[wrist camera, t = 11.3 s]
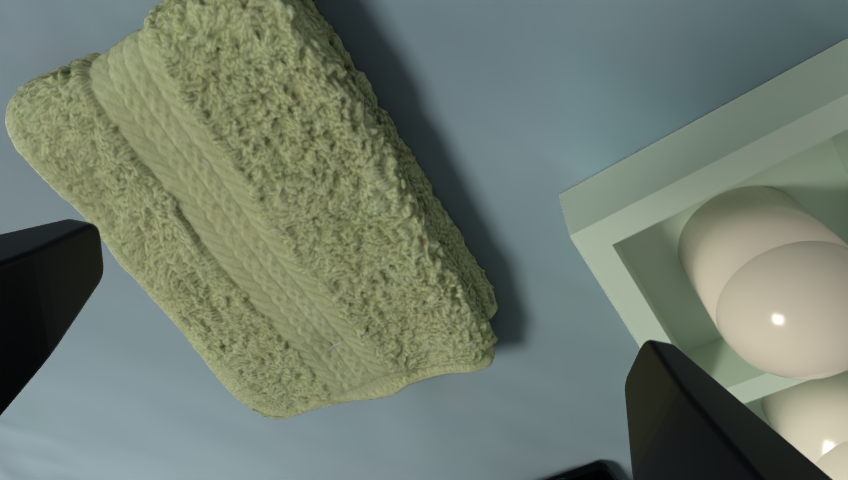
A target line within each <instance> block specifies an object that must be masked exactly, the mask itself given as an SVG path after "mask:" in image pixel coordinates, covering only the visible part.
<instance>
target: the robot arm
mask: <svg viewBox="0 0 848 480" xmlns="http://www.w3.org/2000/svg"><path fill="white" fill-rule="evenodd" d="M102 274H103V258H102V248H101V239H100V232H99V229H98V228H97V226H95V225H94V224H92V223H88V222H83V221H78V220H73V219H67V220H62V221H58V222H53V223H49V224H45V225H40V226H36V227H32V228H27V229H23V230H18V231H14V232H10V233H5V234H1V235H0V415H1V414H2V413H3V412H4V411H5V409H6V408H7V407H8V406H9V405H10V403H11V402H12V401H13V400H14V399H15V397H16V396H17V395H18V394H19V393H20V392H21V390H22V389H23V388H24V387H25V386H26V384H27V383H28V382H29V381H30V380H31V378H32V377H33V376H34V375H35V374H36V372H37V371H38V370H39V369H40V368H41V366H42V365H43V364H44V363H45V361H46V360H47V359H48V357H49V356H50V355H51V353H52V352H53V351H54V349H55V348H56V347H57V345H58V344H59V342H60V341H61V339H62V338H63V336H64V335H65V333H66V332H67V330H68V329H69V327H70V326H71V324H72V323H73V321H74V320H75V318H76V317H77V315H78V314H79V312H80V311H81V309H82V308H83V306H84V305H85V303H86V302H87V300H88V299H89V297H90V296H91V294H92V293H93V291H94V290H95V288H96V287H97V285H98V284H99V282H100V280H101V278H102ZM625 397H626V408H627V420H628V431H629V442H630V454H631V464H632V473H633V479H634V480H833V479H831V478H830V477H829V476H828V475H827V474H826V473H824V472H823V471H822V470H821V469H820V468H818V467H817V466H816V465H815V464H814V463H813V462H811V461H810V460H809V459H808V458H807V457H805V456H804V455H803V454H802V453H801V452H800V451H798V450H797V449H796V448H795V447H794V446H793V445H791V444H790V443H789V442H788V441H787V440H785V439H784V438H783V437H782V436H781V435H780V434H778V433H777V432H776V431H775V430H774V429H772V428H771V427H770V426H769V425H768V424H767V423H765V422H764V421H763V420H762V419H761V418H759V417H758V416H757V415H756V414H755V413H754V412H752V411H751V410H750V409H749V408H748V407H747V406H745V405H744V404H743V403H742V402H741V401H739V400H738V399H737V398H736V397H735V396H734V395H732V394H731V393H730V392H729V391H728V390H727V389H725V388H724V387H723V386H722V385H721V384H719V383H718V382H717V381H716V380H715V379H714V378H712V377H711V376H710V375H709V374H708V373H706V372H705V371H704V370H703V369H702V368H701V367H699V366H698V365H697V364H696V363H695V362H694V361H692V360H691V359H690V358H689V357H688V356H686V355H685V354H684V353H683V352H682V351H681V350H679V349H678V348H677V347H676V346H675V345H673V344H670V343H666V342H661V341H656V340H648V341H645V342H644V344H643V345H642V347H641V349H640V351H639V353H638V355H637V357H636V359H635V361H634V363H633V365H632V368H631V370H630V372H629V374H628V376H627V379H626V384H625ZM598 473H599V474H598ZM549 480H618V479H617V478H616V476H615V475H614V474H613V472H612V471H611V470H610V468H609V467H608V466H607V465H606V464H603V463H594V464H591V465H588V466H586V467H583V468H580V469H577V470H574V471H572V472H569V473H566V474H563V475H560V476H558V477H555V478H552V479H549Z"/></svg>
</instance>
